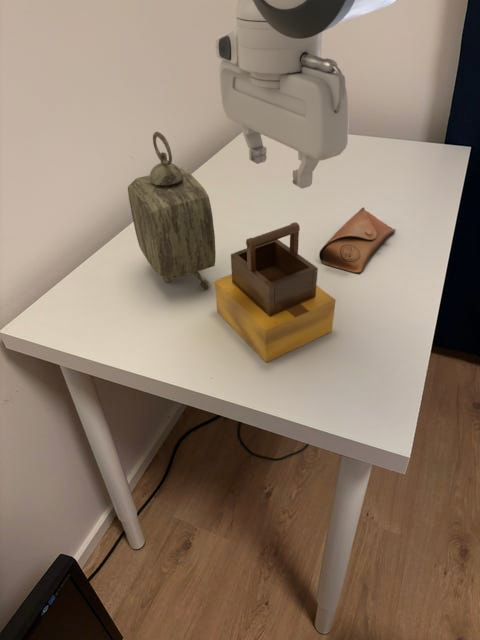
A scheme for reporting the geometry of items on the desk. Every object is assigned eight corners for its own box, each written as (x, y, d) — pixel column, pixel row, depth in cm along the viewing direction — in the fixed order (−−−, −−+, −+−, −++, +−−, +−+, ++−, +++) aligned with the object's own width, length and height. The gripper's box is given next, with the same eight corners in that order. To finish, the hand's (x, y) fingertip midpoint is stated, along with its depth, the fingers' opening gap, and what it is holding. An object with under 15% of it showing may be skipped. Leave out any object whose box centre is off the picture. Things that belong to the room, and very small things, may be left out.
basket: (315, 297, 69) (320, 238, 63) (269, 316, 66) (269, 256, 60) (275, 265, 76) (276, 209, 70) (232, 282, 73) (228, 225, 67)
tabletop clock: (219, 291, 82) (207, 143, 66) (168, 308, 79) (143, 156, 63) (186, 252, 92) (169, 115, 76) (140, 265, 89) (112, 126, 73)
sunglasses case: (363, 273, 83) (348, 239, 81) (329, 280, 88) (314, 248, 86) (398, 228, 95) (385, 197, 93) (366, 237, 100) (353, 208, 97)
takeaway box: (332, 331, 73) (335, 299, 69) (266, 362, 68) (266, 330, 64) (278, 286, 82) (278, 255, 78) (216, 311, 78) (214, 279, 74)
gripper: (370, 57, 45) (355, 195, 54) (252, 31, 59) (255, 144, 68) (317, 68, 43) (311, 210, 52) (207, 38, 57) (216, 155, 66)
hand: (278, 172), depth 60 cm, fingers open, 8 cm apart
